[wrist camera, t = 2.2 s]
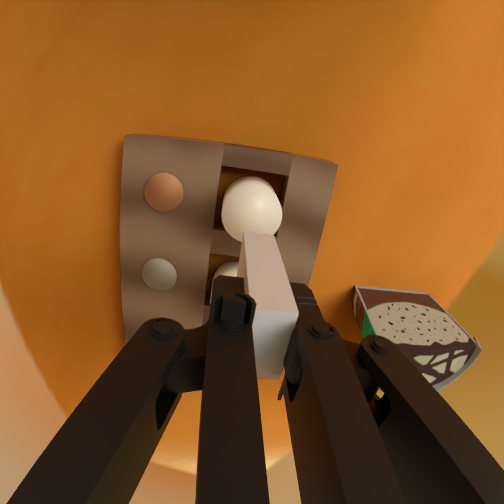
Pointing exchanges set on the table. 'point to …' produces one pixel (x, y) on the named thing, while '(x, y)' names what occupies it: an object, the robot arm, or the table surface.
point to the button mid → (227, 270)
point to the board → (203, 222)
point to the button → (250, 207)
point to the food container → (417, 331)
